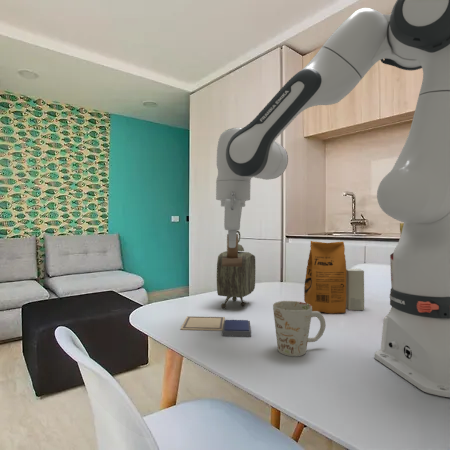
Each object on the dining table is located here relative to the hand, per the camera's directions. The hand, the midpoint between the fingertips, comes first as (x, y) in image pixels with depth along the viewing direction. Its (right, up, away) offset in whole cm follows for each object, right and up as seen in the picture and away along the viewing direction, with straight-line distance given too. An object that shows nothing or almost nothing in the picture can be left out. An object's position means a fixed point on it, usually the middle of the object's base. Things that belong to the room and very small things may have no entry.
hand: (232, 246), depth 86 cm
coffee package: (+30, -22, +21) cm, 42 cm away
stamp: (0, -5, 0) cm, 5 cm away
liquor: (+49, -22, +8) cm, 54 cm away
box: (+40, -22, +22) cm, 51 cm away
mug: (+15, -22, -13) cm, 29 cm away
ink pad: (+1, -22, 0) cm, 22 cm away
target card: (-8, -21, +5) cm, 23 cm away
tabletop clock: (+2, -21, +25) cm, 33 cm away
